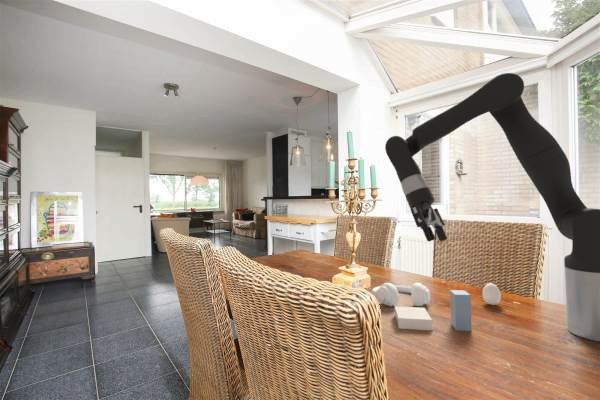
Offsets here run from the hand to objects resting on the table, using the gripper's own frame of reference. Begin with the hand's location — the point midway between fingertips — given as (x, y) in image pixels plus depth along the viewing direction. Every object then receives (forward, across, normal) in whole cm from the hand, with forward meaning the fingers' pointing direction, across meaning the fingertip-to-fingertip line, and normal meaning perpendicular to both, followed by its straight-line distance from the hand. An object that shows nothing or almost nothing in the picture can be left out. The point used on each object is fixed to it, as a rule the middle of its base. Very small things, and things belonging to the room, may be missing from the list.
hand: (438, 240), depth 82 cm
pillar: (+24, +5, +6) cm, 25 cm away
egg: (+22, +30, +3) cm, 37 cm away
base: (+20, -2, +16) cm, 26 cm away
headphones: (+14, +14, +28) cm, 34 cm away
